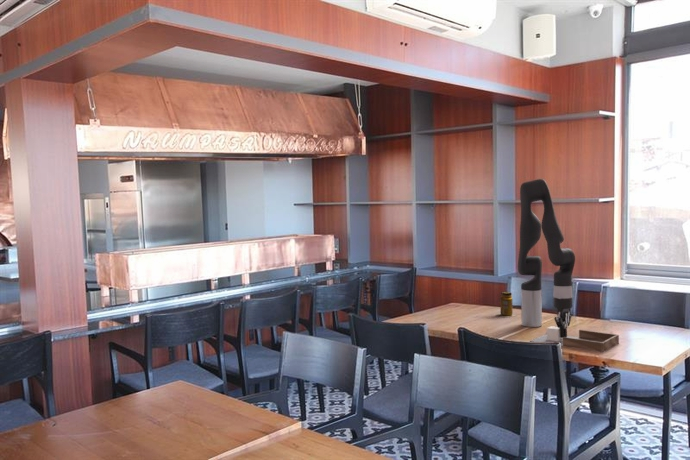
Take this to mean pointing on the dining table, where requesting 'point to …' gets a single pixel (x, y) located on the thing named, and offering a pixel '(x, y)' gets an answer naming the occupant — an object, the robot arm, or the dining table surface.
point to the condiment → (506, 304)
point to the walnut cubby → (607, 339)
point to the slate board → (544, 339)
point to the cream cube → (553, 333)
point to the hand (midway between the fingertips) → (563, 337)
